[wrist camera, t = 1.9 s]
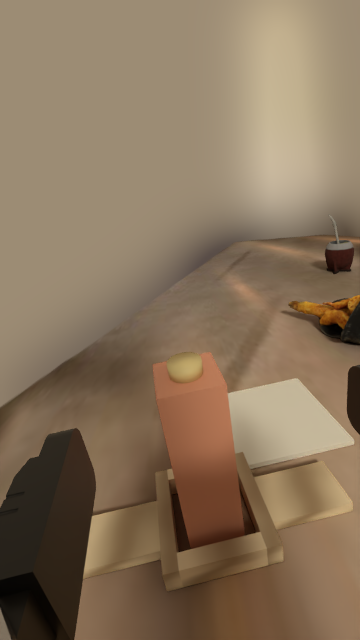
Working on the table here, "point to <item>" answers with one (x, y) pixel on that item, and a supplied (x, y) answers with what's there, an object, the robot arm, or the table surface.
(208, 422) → the salmon block with knob
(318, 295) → the table surface
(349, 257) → the mate gourd
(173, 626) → the table surface
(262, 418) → the felt pad
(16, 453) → the table surface
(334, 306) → the fried shrimp in bowl
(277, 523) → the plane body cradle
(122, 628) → the table surface
